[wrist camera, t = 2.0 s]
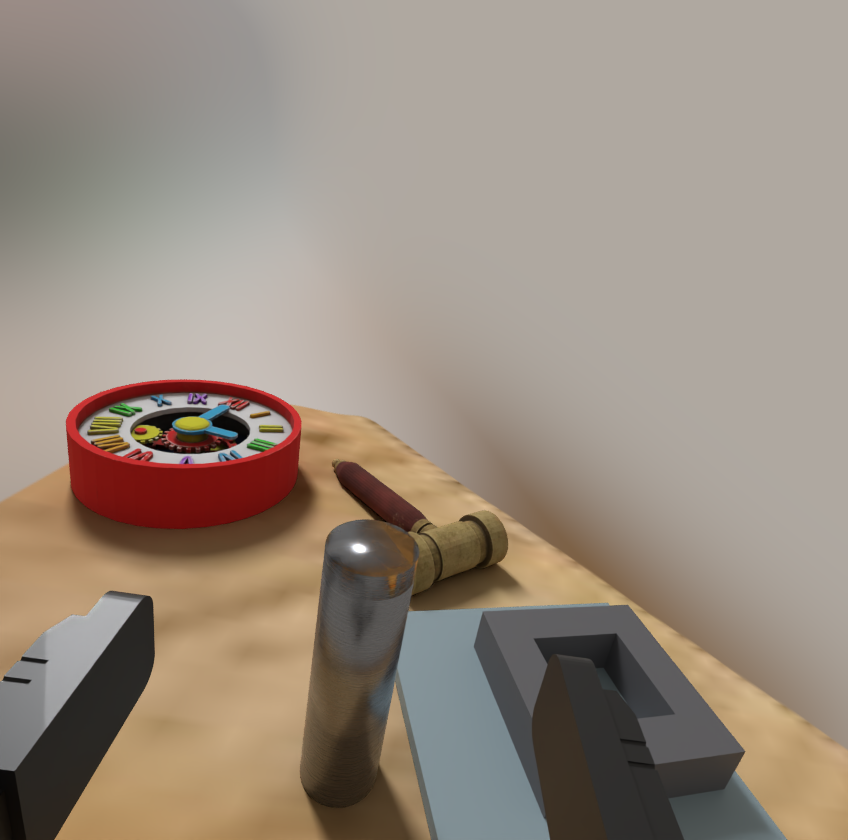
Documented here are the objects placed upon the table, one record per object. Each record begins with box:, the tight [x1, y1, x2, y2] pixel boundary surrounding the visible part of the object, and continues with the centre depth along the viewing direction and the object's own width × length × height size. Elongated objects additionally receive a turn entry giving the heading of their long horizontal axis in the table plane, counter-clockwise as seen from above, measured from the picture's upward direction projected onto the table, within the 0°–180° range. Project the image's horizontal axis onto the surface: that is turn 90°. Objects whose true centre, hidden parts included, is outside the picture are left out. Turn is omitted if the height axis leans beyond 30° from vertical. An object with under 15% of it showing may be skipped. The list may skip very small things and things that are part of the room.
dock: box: [395, 603, 787, 840], centre depth 32 cm, size 18×18×4 cm
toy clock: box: [66, 380, 301, 529], centre depth 52 cm, size 20×6×20 cm
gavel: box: [332, 459, 508, 595], centre depth 51 cm, size 21×5×10 cm
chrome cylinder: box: [300, 520, 419, 807], centre depth 26 cm, size 4×4×14 cm
